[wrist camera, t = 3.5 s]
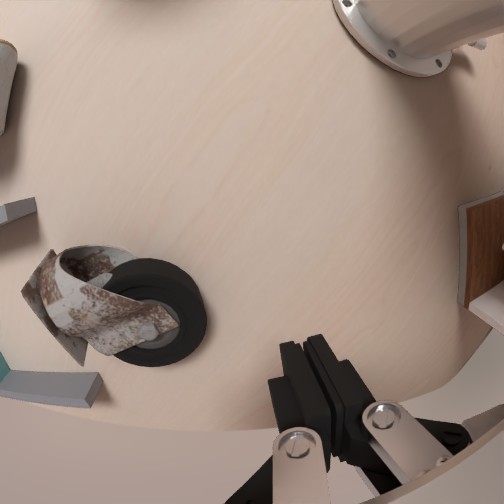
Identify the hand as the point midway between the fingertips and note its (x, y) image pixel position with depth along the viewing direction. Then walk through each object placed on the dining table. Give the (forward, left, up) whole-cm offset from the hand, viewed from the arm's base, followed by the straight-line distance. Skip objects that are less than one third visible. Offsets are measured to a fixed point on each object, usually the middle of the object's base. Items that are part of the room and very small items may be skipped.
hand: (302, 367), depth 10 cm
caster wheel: (+10, 0, -11) cm, 15 cm away
